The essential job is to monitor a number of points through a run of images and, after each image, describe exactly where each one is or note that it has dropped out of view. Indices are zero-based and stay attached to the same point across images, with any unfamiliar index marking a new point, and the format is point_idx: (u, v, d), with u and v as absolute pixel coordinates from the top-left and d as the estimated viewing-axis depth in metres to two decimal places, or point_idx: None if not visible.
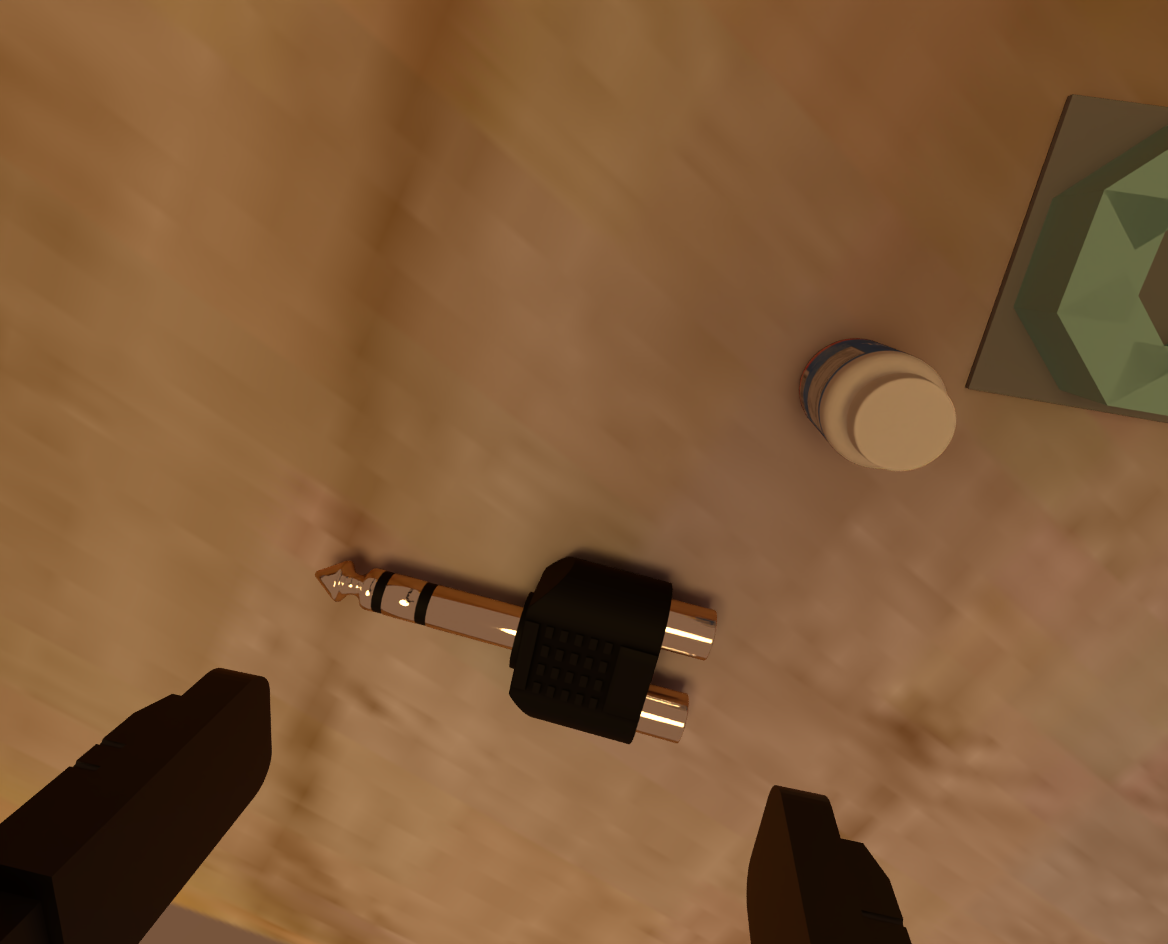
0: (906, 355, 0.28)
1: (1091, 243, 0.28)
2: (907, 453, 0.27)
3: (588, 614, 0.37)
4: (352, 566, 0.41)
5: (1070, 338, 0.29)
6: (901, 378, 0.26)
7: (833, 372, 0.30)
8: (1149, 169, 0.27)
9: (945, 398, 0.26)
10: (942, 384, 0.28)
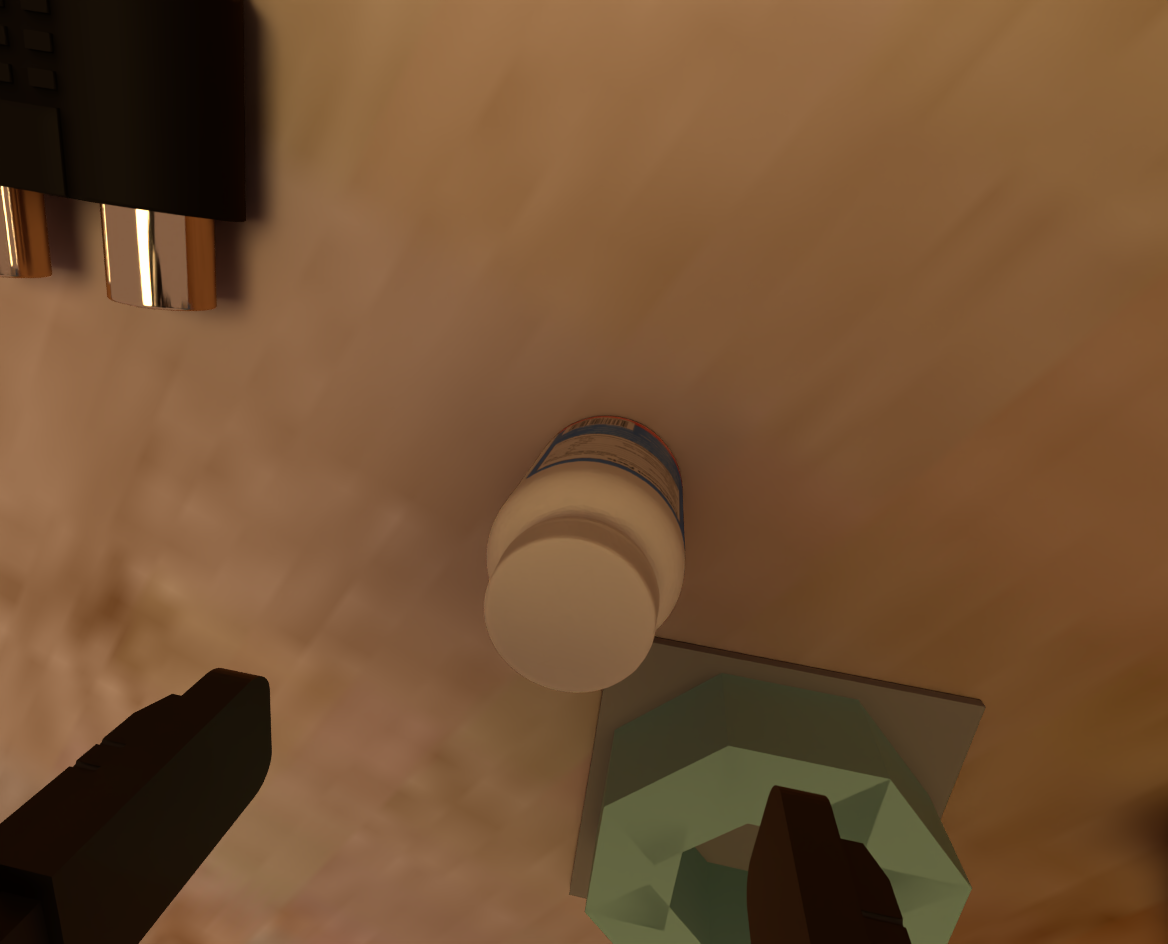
0: (680, 589, 0.17)
1: (820, 772, 0.21)
2: (517, 627, 0.15)
3: (102, 21, 0.17)
4: None
5: (692, 761, 0.22)
6: (654, 606, 0.14)
7: (645, 476, 0.17)
8: (908, 819, 0.21)
9: (620, 675, 0.15)
10: None
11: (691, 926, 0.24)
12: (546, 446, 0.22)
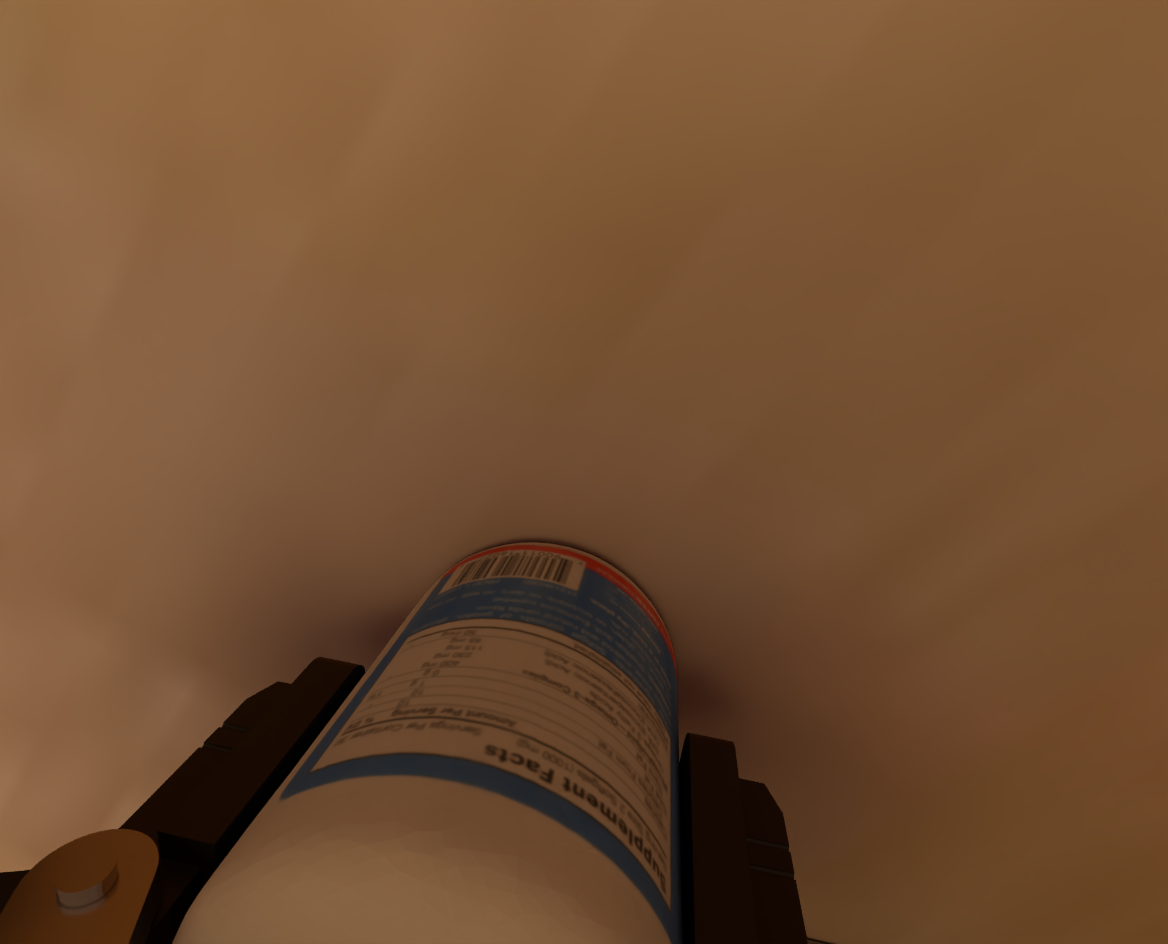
0: None
1: None
2: None
3: None
4: None
5: None
6: None
7: (582, 797, 0.07)
8: None
9: None
10: None
11: None
12: (417, 604, 0.12)
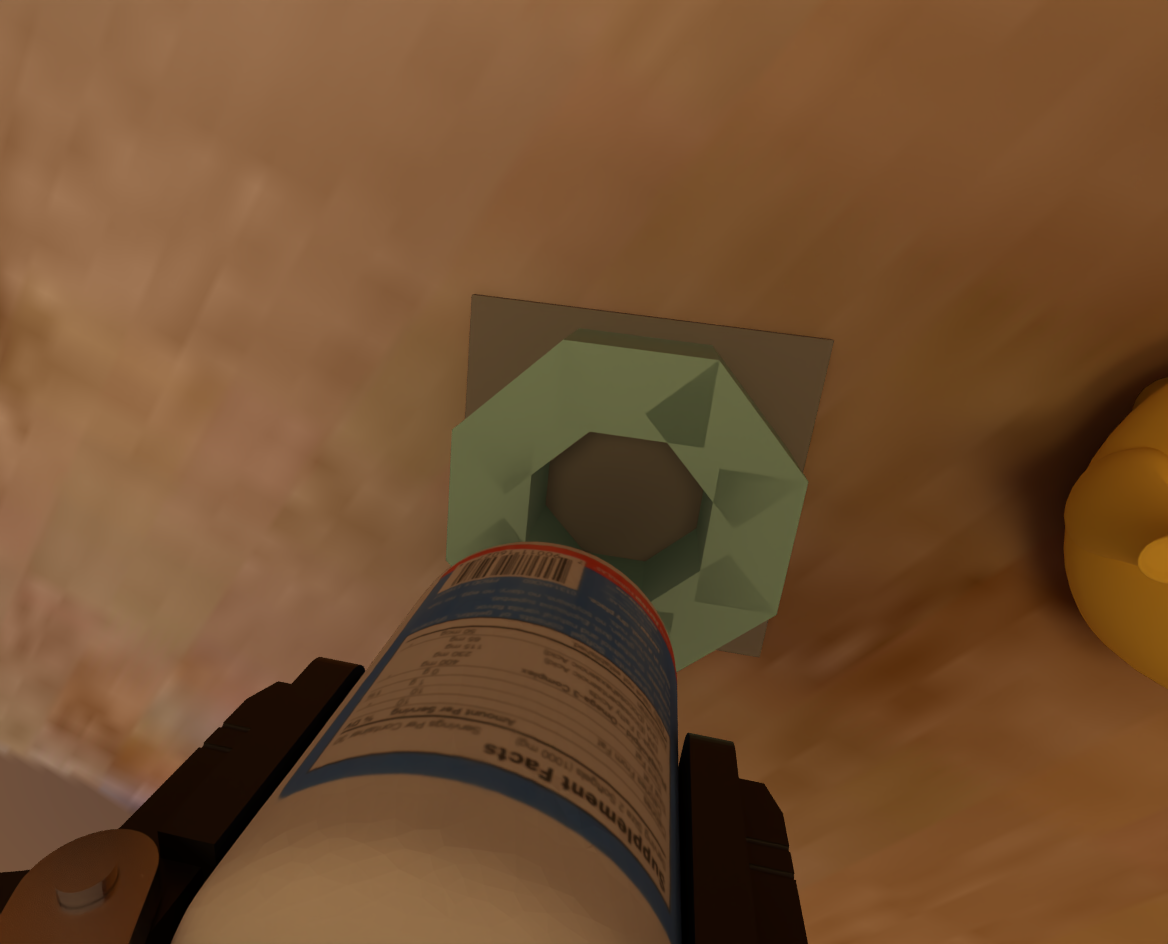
0: None
1: (652, 360, 0.21)
2: None
3: None
4: None
5: (532, 365, 0.22)
6: None
7: (581, 796, 0.07)
8: (741, 406, 0.21)
9: None
10: None
11: None
12: (416, 603, 0.12)
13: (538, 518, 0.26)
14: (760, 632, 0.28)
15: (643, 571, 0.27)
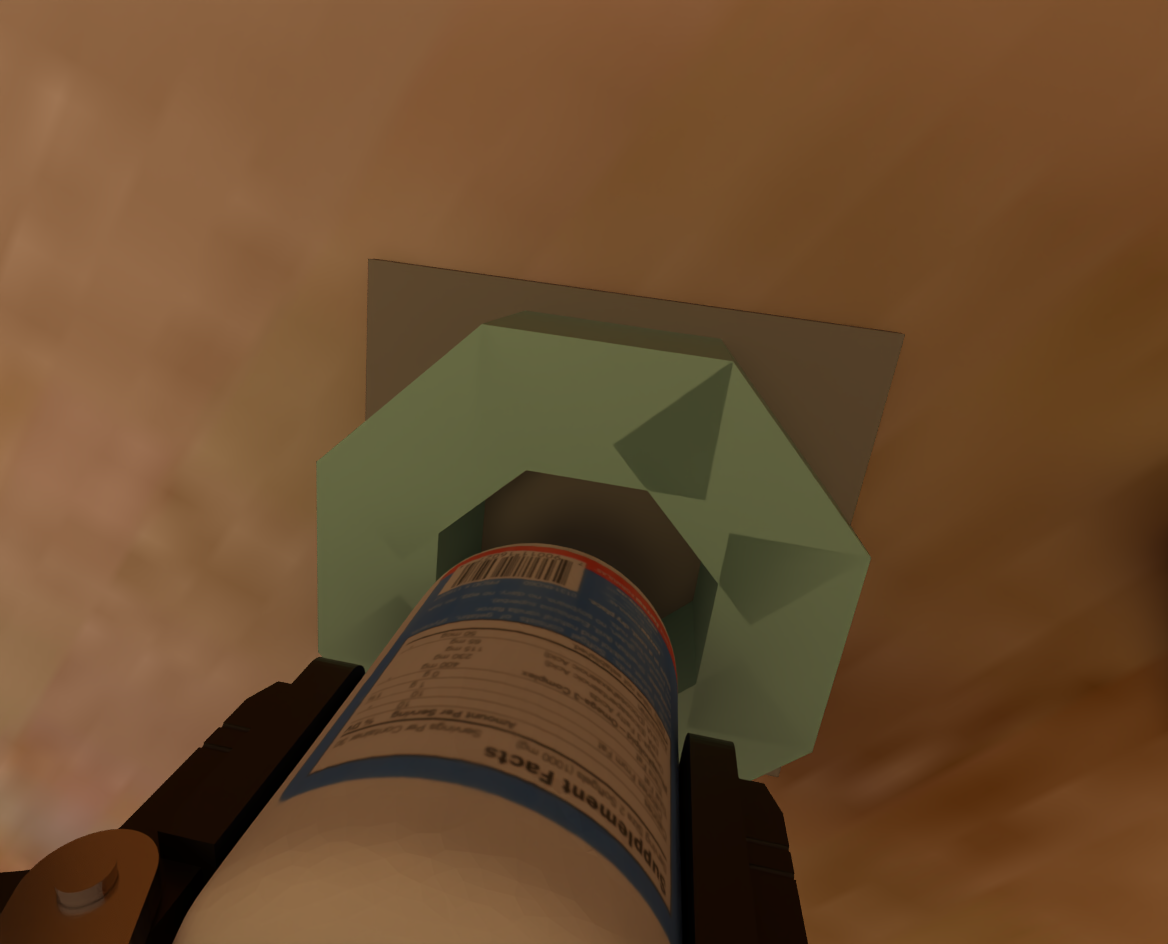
0: None
1: (624, 360, 0.13)
2: None
3: None
4: None
5: (434, 364, 0.14)
6: None
7: (581, 799, 0.07)
8: (766, 436, 0.13)
9: None
10: None
11: None
12: (417, 605, 0.12)
13: None
14: None
15: None
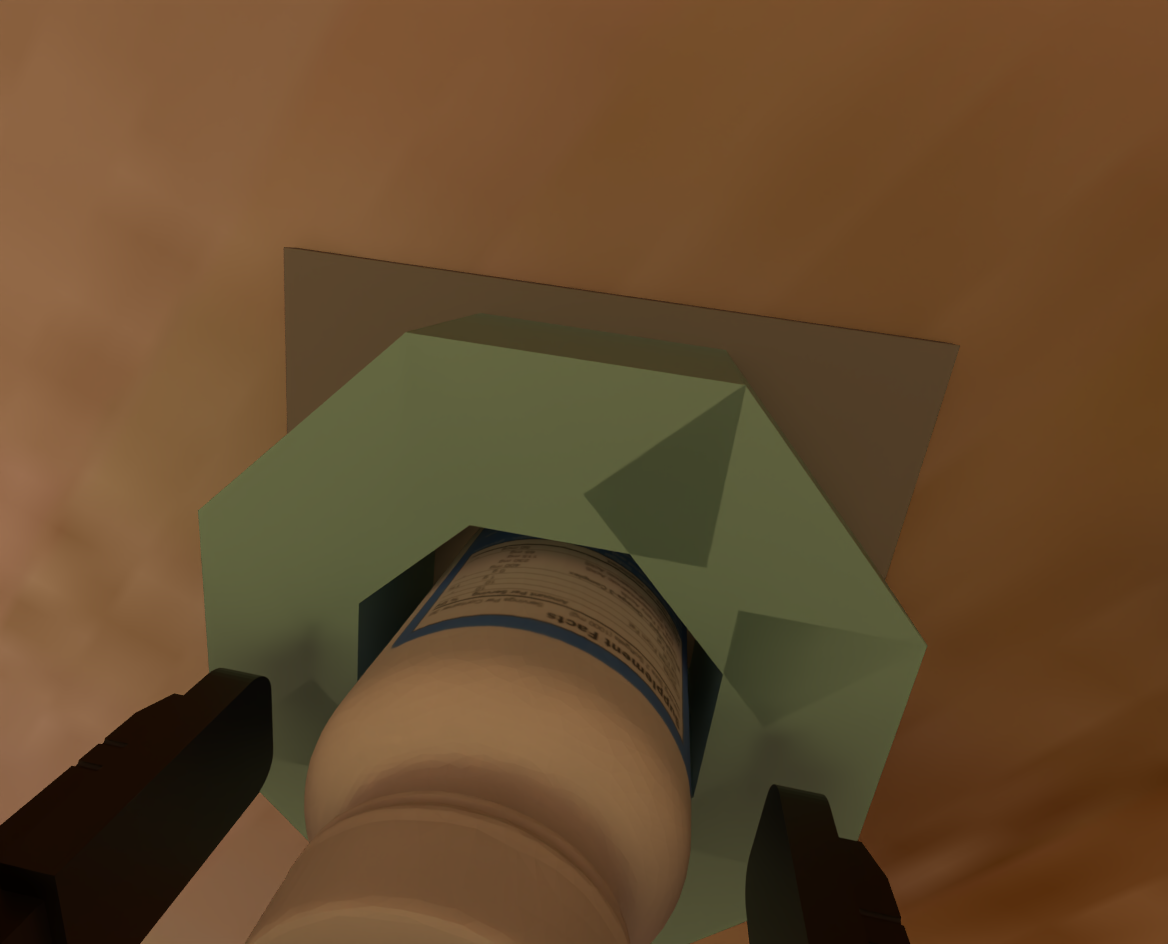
0: (681, 891, 0.08)
1: (597, 382, 0.10)
2: None
3: None
4: None
5: (345, 384, 0.10)
6: None
7: (619, 652, 0.09)
8: (790, 486, 0.10)
9: None
10: None
11: None
12: (470, 539, 0.14)
13: None
14: None
15: None
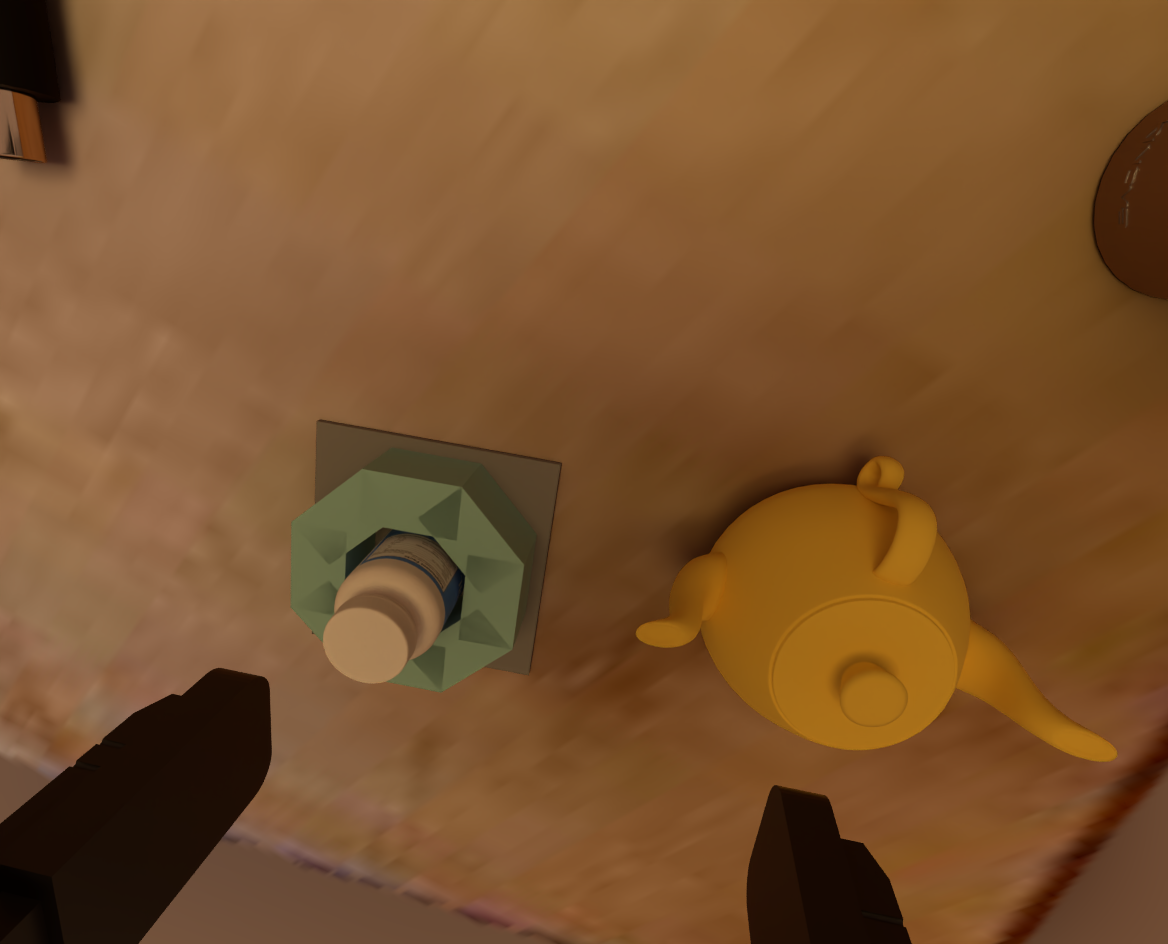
0: (438, 629, 0.31)
1: (420, 485, 0.32)
2: (340, 649, 0.29)
3: None
4: None
5: (343, 483, 0.33)
6: (407, 642, 0.29)
7: (424, 566, 0.32)
8: (478, 516, 0.33)
9: (392, 675, 0.29)
10: (414, 657, 0.32)
11: None
12: (388, 532, 0.37)
13: None
14: (527, 657, 0.40)
15: None
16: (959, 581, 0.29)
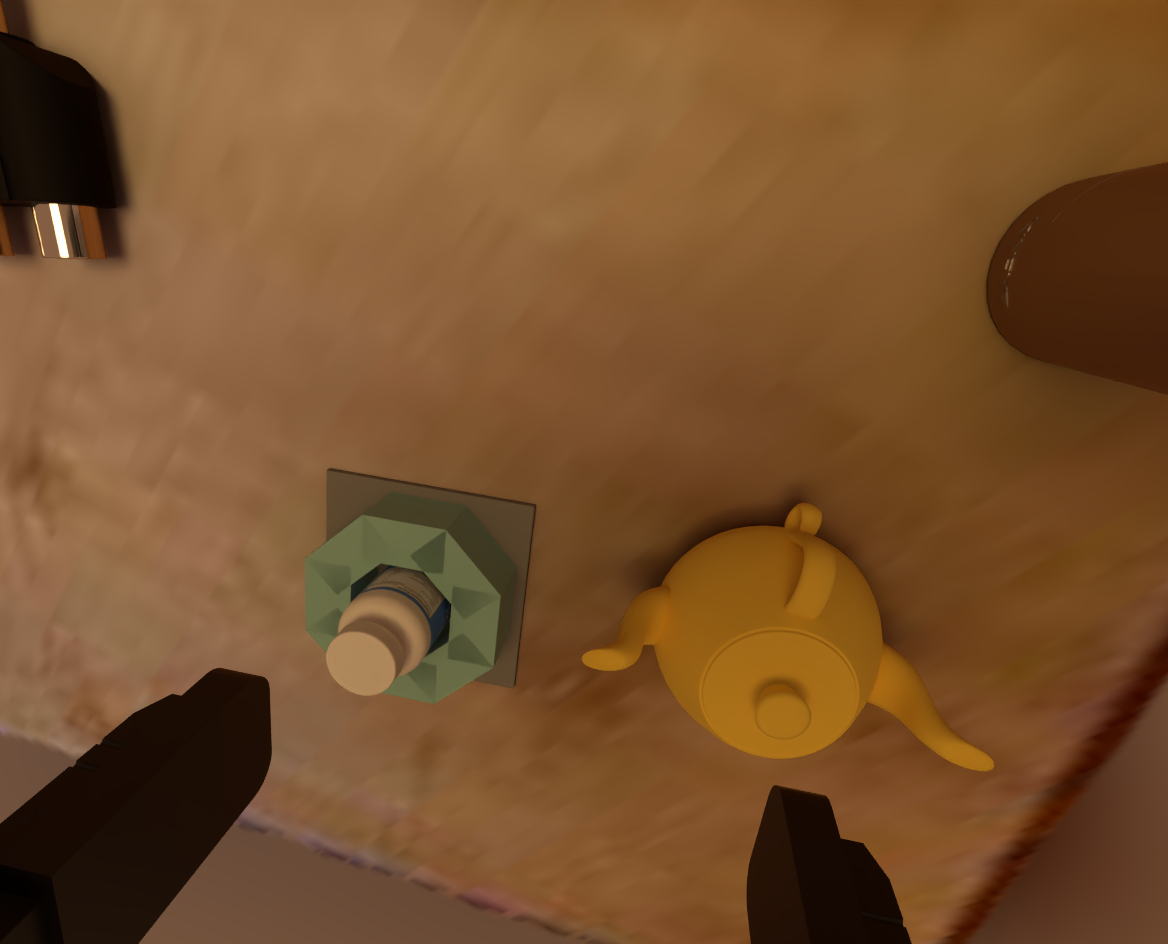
0: (424, 650, 0.37)
1: (410, 528, 0.38)
2: (340, 666, 0.35)
3: (15, 107, 0.33)
4: None
5: (347, 526, 0.39)
6: (394, 661, 0.34)
7: (414, 596, 0.38)
8: (460, 554, 0.38)
9: (382, 688, 0.35)
10: (404, 674, 0.37)
11: None
12: None
13: None
14: (512, 673, 0.45)
15: None
16: (868, 613, 0.34)
